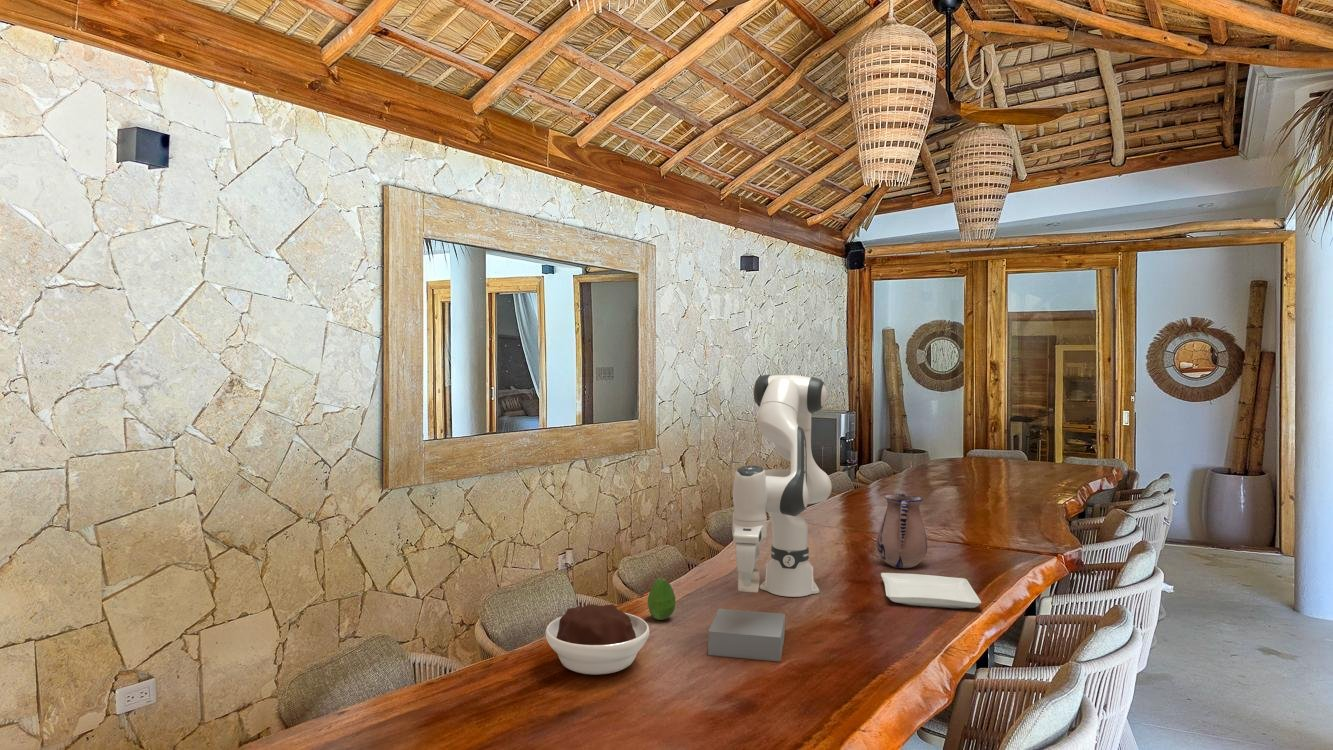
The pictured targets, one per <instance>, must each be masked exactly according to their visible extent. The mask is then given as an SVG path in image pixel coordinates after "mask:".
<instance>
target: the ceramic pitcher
mask: <svg viewBox="0 0 1333 750" xmlns="http://www.w3.org/2000/svg"><path fill="white" fill-rule="evenodd" d="M884 498H885V499H886V502H887V503H886V504H887V506H886V511H885V513H884V516H883V520H882V521H881V525H880V527H879V530H878V533H877V536H876V549H877V552H878V553H879V555H880V558H881V559H882V561H883V562H884V563H886V564H887V565H888V566H891V567H893V568H897V569H898V568H899V569H911V568H914V567H916V566H918V565H920V563H922V561H923V560H924V559H925V557H926V555H927V552H928V537H927V533H926V529H925V525H924V523H923V522H924V521H923V518H922V514H921V511H920V505H921V502H922V501H923V500H924V499H923V498H922V497H920V496H916V495H907V494H905V493H898V494H885V495H884Z"/></svg>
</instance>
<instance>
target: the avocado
mask: <svg viewBox="0 0 1333 750" xmlns="http://www.w3.org/2000/svg"><path fill="white" fill-rule="evenodd" d="M647 608H648V611H649V614H650V615H651V617H653V618H654V619H655V620H656V621H657V620H658V621H664V620H667V619H668V618H670V617H671V616H672V615H673V613H674V610H675V609H676V595H675V592H674V589H673V588H672V585H671V584H670V582H669V581H668V580H667V579H666V578H664V577H659V578H657V579H656V580H655V581H654V582H653V584H652V585H651V588H650V591H649V594H648V597H647Z"/></svg>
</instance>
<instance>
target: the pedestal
mask: <svg viewBox="0 0 1333 750" xmlns="http://www.w3.org/2000/svg"><path fill="white" fill-rule="evenodd" d="M785 628H786V613H778V612H777V613H776V612H765V611H764V612H763V611H752V610H739V609H730V608H729V609H726V608H718V609H717V611H716V614H715V616H714V618H713V620H712V622H711V625H710V626H709V629H708V632H707V633H708V634H707V637H708V639H707V641H708V642H707V649H708V650H707V655H708V656H716V657H726V658H727V657H728V658H737V659H738V658H739V659H750V660H760V661H769V662H771V661H772V662H781V660H782V659H781V658H782V655H783V647H784V642H785V637H786V635H785V634H786V633H785V631H786V629H785Z"/></svg>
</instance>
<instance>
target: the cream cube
mask: <svg viewBox="0 0 1333 750" xmlns="http://www.w3.org/2000/svg"><path fill="white" fill-rule="evenodd" d="M760 570H761V569H760V567H754V570H753V572H752V574H751V586H750V587H746V586H744V579H743V574H739V573H738V572H737V581H738V582H737V591H738V592H747V593H758V592H759V590H760V572H761V571H760Z"/></svg>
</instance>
